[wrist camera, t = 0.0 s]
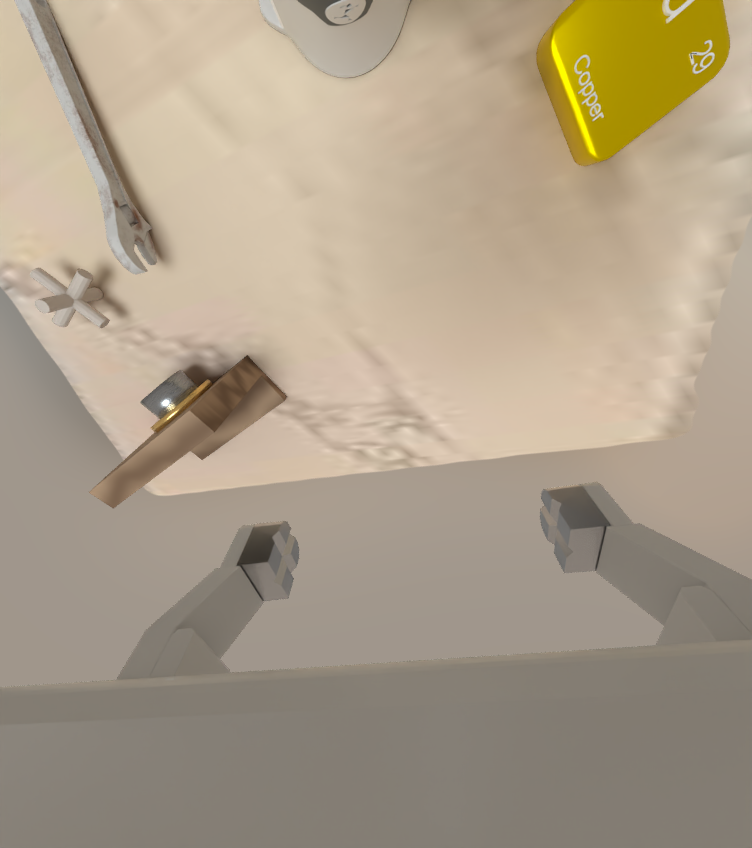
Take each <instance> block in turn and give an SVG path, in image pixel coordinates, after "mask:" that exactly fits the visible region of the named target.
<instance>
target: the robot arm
mask: <svg viewBox="0 0 752 848" xmlns="http://www.w3.org/2000/svg"><path fill="white" fill-rule="evenodd" d="M410 1H411V0H259V5H260V10H261V13H262V15H263V18H264V19H265V21H266V22H267V23H268V24H269V25H270V26H271V27H272V28H274V29H275V30H277V31H279V32H281V33H283V34H284V35H286V36H288V37H289V38H290V39H291V40H292V41H293V42H294V43H295V45H296V46H297V47H298V49H299V50H300V51H301V53H302V54H303V55H304V56H305V57H306V58H307V59H308V60H309V61H310V62H311V63H312V64H313V65H314V66H315V67H317V68H318V69H320V70H321V71H323V72H325V73H327V74H329V75H332V76H336V77H342V78H350V77H356V76H359V75H362V74H364V73H367V72H368V71H370V70H372V69H373V68H374V67H376V66H377V65H378V64H379V63H380V62H381V61H382V60H383V59H384V58H385V57H386V56H387V54H388V53H389V52H390V50H391V49H392V47H393V45H394V44H395V42H396V40H397V38H398V36H399V33H400V31H401V28H402V25H403V23H404V19H405V16H406V13H407V9H408V6H409V3H410ZM541 499H542V501H543V503H544V506H543V507H542V508H541V509H540V520H541V526H542V529H543V531H544V534H545V536H546V538H547V540H548V541H549V542H551V543H552V544H554V545H555V549H554V554H555V556H556V558H557V560H558V561H559V564H560V565H561V567H562V569H563V571H564V573H572V572H586V571H596V572H597V573H598V574H599V575H600V576H601V577H603V578H604V579H605V580H606V581H608V582H609V583H610V584H612V585H613V586H614V587H615V588H617V589H618V590H619V591H620V592H622V593H623V594H624V595H626V596H627V597H628V598H629V599H631V600H632V601H633V602H634V603H636V604H637V605H638V606H639V607H641V608H642V609H643V610H645V611H646V612H647V613H648V614H650V615H651V616H652V617H654V618H655V619H656V620H657V621H659V622H660V623H661V624H663V625H664V628H663V630H662V632H661V634H660V636H659V639H658V641H657V643H656V645H654V646H638V647H623V648H608V649H593V650H577V651H561V652H545V653H530V654H513V655H498V656H482V657H466V658H450V659H434V660H419V661H403V662H389V663H373V664H358V665H342V666H326V667H311V668H295V669H279V670H266V671H265V670H264V671H248V672H232V673H231V672H230V670H229V668H228V667H227V666H226V665H225V664H224V663H223V662H222V661H221V660H220V659H221V657H222V656H223V655H224V653H225V652H226V651H227V650H228V648H229V647H230V646H231V644H232V643H233V642H234V641H235V639H236V638H237V637H238V635H239V634H240V633H241V631H242V630H243V629H244V627H245V626H246V625H247V624H248V622H249V621H250V620H251V619H252V617H253V616H254V614H255V613H256V612H257V611H258V609H259V608H260V607H261V606H262V604H263V601H270V600H278V599H287V598H289V594H290V591H291V587H292V583H293V579H294V578H293V576H292V574H291V572H292V571H293V570H294V569H295V568H296V566H297V564H298V559H299V547H298V542H297V540H296V538H295V537H294V536H292V535H291V534H290V530H291V527H290V526H289V524H288V522H286V521H280V522H270V523H259V524H253V525H243V526H242V527H241V528H239V530H238V532H237V534H236V536H235V538H234V540H233V542H232V544H231V546H230V548H229V550H228V552H227V554H226V557H225V558H224V560H223V563H222V565H221V567H220V568H216V569H214V571H212V572H211V573H210V574H209V575H208V576H207V577H205V578H204V579H203V580H202V581H201V582H200V583H199V584H198V585H196V586H195V587H194V588H193V589H192V590H191V591H190V592H188V593H187V594H186V595H185V596H184V597H183V598H182V599H180V600H179V601H178V602H177V603H176V604H175V605H174V606H173V607H171V608H170V609H169V610H168V611H167V612H166V613H165V614H164V615H162V616H161V617H160V618H159V619H158V620H157V621H156V622H154V623H153V624H152V625H151V626H150V627H149V628H148V629H146V631H145V632H144V634H143V635H142V637H141V639H140V641H139V642H138V644H137V646H136V647H135V649H134V651H133V652H132V654H131V656H130V657H129V659H128V661H127V662H126V664H125V666H124V667H123V669H122V671H121V672H120V674H119V676H118V677H117V680H107V681H92V682H75V683H59V684H43V685H27V686H11V687H10V686H9V687H0V848H752V579H750V578H748V577H746V576H743V575H741V574H739V573H737V572H736V571H733V570H732V569H729V568H727V567H726V566H724V565H721V564H719V563H717V562H716V561H714V560H711V559H710V558H707V557H706V556H704V555H702V554H700V553H697V552H696V551H694V550H692V549H690V548H688V547H686V546H684V545H682V544H680V543H678V542H676V541H674V540H672V539H670V538H668V537H666V536H664V535H662V534H660V533H658V532H656V531H654V530H652V529H650V528H648V527H646V526H644V525H642V524H634V523H633V522H632V521H631V520H630V519H629V517H628V516H627V515H626V514H625V513H624V512H623V510H622V509H621V508H620V507H619V506H618V504H617V503H616V502H615V501H614V499H613V498H612V497H611V496H610V495H609V494H608V492H607V491H606V490H605V489H604V488H603V486H602V485H601V484H600V483H598V482H593V483H585V484H579V485H570V486H563V487H556V488H548V489H543V491H542V494H541Z"/></svg>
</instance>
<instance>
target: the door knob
mask: <svg viewBox="0 0 752 848" xmlns="http://www.w3.org/2000/svg"><path fill="white" fill-rule="evenodd" d="M212 385H213V383H212V382H211V381H210V380H208V379H207V380H206V381H205V382H203V383H202V384H201V385H200V386H197V385H196V384H195V383H194V382H193V381H192V380H191V379H190V378H189V377H188V376H187V375H185V374H184V373H183V372H182V371H181V370H179V371H178V372H176V373H175V374H173V375H172V376H171V377H169V378H168V379H167V380H166V381H164V382H163V383H162V384H161V385H159V386H158V387H157V388H156V389H155V390H153V391H152V392H151V393H150V394H149V395H148V396H146V397H145V398H144V399H143V400H142V401H141V402H140V403H141V404H142V405H144V406H145V407H146V408H147V409H148V410H150V411H151V412H152V413H153V414H154V415H156V416H157V417H158V418H159V419H160V420H159V421H158V422H156V423H155V424H154V425H153V426H152V427H151V429H152V430H153V431H154V432H156V433H158V432H159V431H160V430H162V429H163V428H164V427H165V426H167V425H168V424H169V423H170V422H171V421H173V420H174V419H175V418H176V417H177V416H179V415H180V414H181V413H182V412H183V411H184V410H186V409H187V408H188V407H189V406H190V405H191V404H192V403H194V402H195V401H196V400H197V399H198V398H199V397H200V396H201V395H203V394H204V393H205V392H206V391H207V390H208V389H209V388H210V387H211V386H212Z"/></svg>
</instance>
